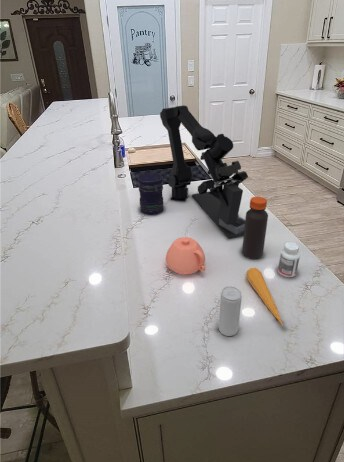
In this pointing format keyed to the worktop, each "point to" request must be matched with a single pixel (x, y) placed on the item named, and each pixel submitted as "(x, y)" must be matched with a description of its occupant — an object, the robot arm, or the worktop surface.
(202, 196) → the base pad
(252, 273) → the carrot
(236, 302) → the beverage can
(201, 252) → the pink dome with handle
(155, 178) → the storage jar
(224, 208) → the pad block
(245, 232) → the vinegar
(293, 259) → the pill bottle
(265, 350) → the worktop surface
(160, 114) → the robot arm
